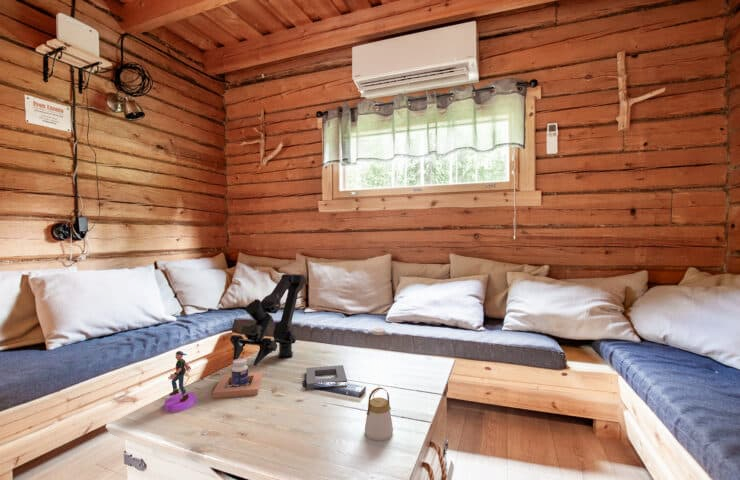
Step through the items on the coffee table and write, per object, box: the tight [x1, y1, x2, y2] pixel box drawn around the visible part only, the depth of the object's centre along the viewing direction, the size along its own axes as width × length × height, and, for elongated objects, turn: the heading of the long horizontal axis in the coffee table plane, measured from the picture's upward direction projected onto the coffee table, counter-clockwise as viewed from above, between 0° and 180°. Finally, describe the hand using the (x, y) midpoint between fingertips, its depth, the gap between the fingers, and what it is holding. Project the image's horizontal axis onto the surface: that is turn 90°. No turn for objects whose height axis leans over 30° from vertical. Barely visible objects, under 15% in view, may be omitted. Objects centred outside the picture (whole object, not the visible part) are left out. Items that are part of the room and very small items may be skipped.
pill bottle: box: [231, 358, 249, 387], centre depth 131 cm, size 6×6×10 cm
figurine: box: [164, 350, 197, 413], centre depth 117 cm, size 9×9×18 cm
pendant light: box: [364, 327, 394, 442], centre depth 101 cm, size 8×8×30 cm
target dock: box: [212, 371, 264, 399], centre depth 131 cm, size 15×15×2 cm
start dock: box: [305, 364, 348, 390], centre depth 137 cm, size 15×15×2 cm
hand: (244, 363), depth 133 cm, fingers open, 9 cm apart
